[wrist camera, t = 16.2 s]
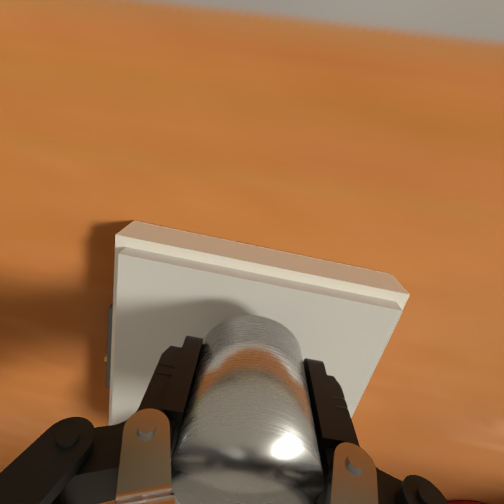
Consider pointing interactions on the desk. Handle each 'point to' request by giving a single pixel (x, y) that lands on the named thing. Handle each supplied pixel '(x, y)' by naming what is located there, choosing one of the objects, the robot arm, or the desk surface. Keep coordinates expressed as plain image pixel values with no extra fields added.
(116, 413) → the scale
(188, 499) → the disc
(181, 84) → the desk surface
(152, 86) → the desk surface
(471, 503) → the canned food
